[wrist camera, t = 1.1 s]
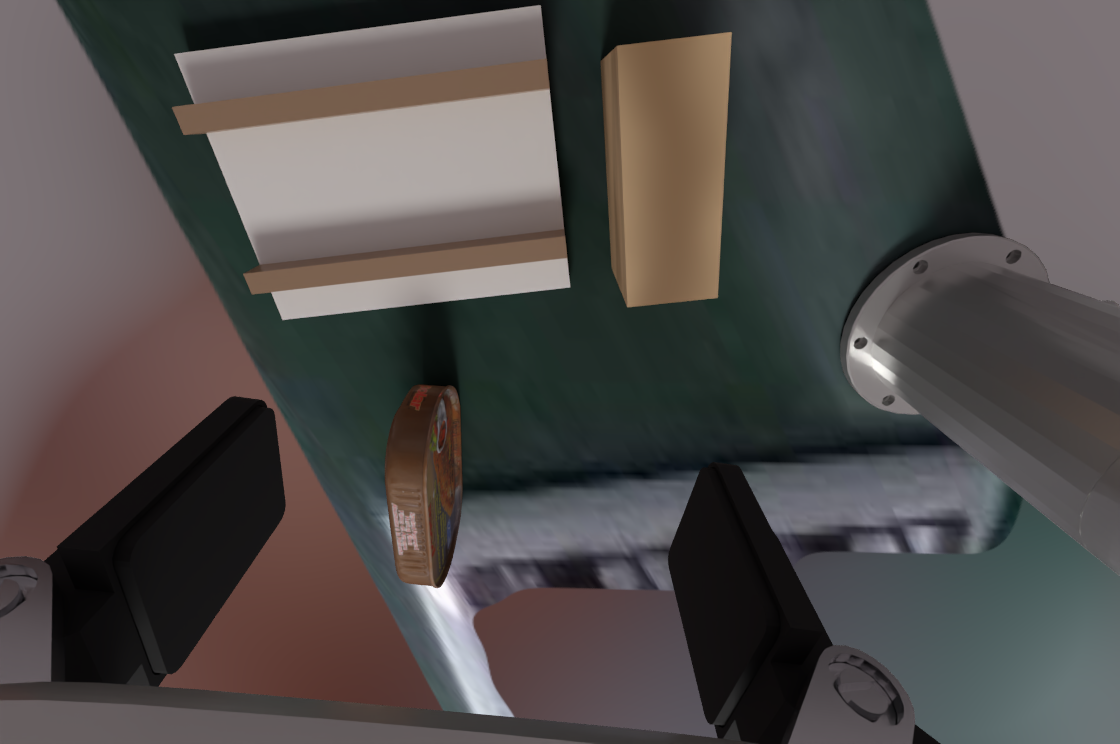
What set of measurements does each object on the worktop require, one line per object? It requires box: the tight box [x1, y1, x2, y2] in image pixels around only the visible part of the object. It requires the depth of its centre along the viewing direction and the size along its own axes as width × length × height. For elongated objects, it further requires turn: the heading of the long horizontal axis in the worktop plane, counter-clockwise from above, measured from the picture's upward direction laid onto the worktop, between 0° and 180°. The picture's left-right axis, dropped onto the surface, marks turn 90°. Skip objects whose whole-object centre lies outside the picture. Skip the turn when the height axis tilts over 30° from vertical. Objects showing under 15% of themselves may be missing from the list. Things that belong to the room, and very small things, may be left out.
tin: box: [385, 385, 462, 588], centre depth 33 cm, size 15×3×8 cm, turn 175°
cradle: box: [172, 5, 570, 320], centre depth 27 cm, size 18×14×3 cm
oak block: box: [601, 32, 732, 307], centre depth 25 cm, size 4×11×7 cm, turn 6°
